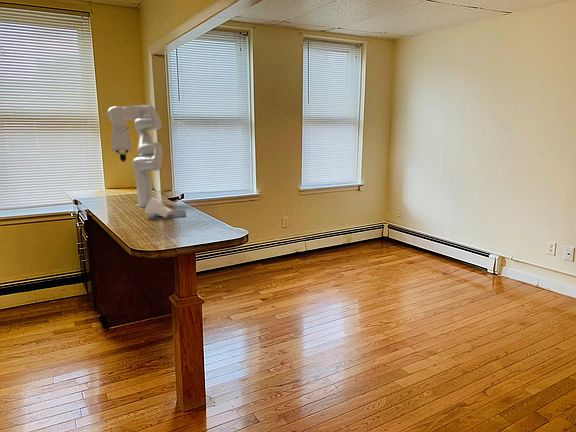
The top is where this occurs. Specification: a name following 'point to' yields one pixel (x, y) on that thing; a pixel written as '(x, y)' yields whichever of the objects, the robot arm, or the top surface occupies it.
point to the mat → (173, 215)
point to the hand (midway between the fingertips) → (123, 161)
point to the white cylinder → (157, 208)
